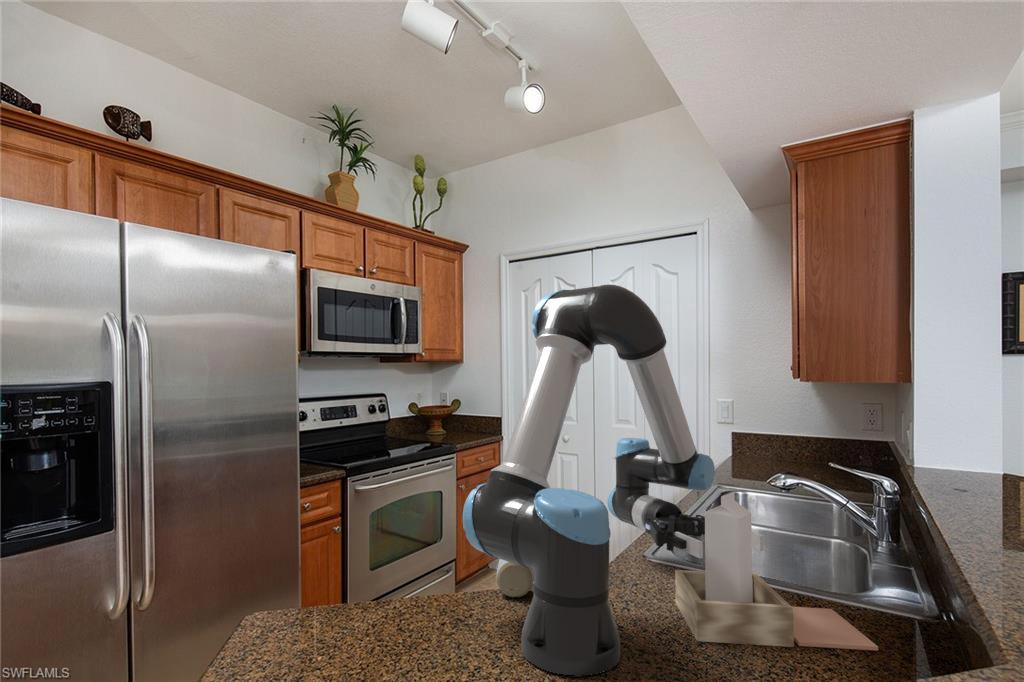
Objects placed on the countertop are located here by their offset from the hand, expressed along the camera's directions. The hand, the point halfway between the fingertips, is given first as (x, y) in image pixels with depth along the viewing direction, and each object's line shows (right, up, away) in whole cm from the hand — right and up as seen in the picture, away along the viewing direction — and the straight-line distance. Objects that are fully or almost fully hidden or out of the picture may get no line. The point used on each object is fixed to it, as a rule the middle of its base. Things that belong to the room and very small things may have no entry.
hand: (732, 546), depth 92 cm
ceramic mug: (-37, -13, +11) cm, 41 cm away
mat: (+14, -13, -2) cm, 19 cm away
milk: (-1, -13, -1) cm, 13 cm away
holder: (-1, -13, -1) cm, 13 cm away
